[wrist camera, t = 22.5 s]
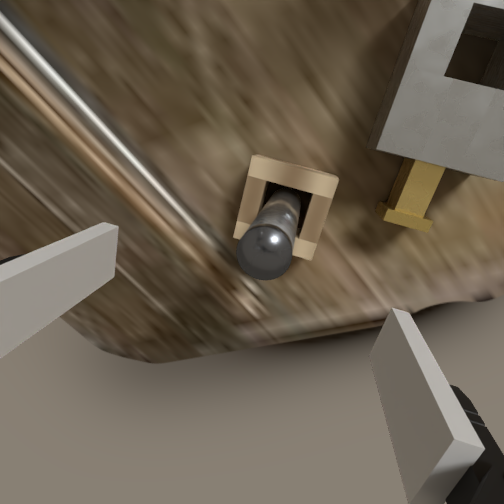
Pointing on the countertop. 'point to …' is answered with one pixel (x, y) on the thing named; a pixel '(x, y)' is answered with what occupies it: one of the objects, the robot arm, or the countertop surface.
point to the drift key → (411, 195)
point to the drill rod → (271, 237)
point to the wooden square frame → (293, 177)
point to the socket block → (446, 92)
